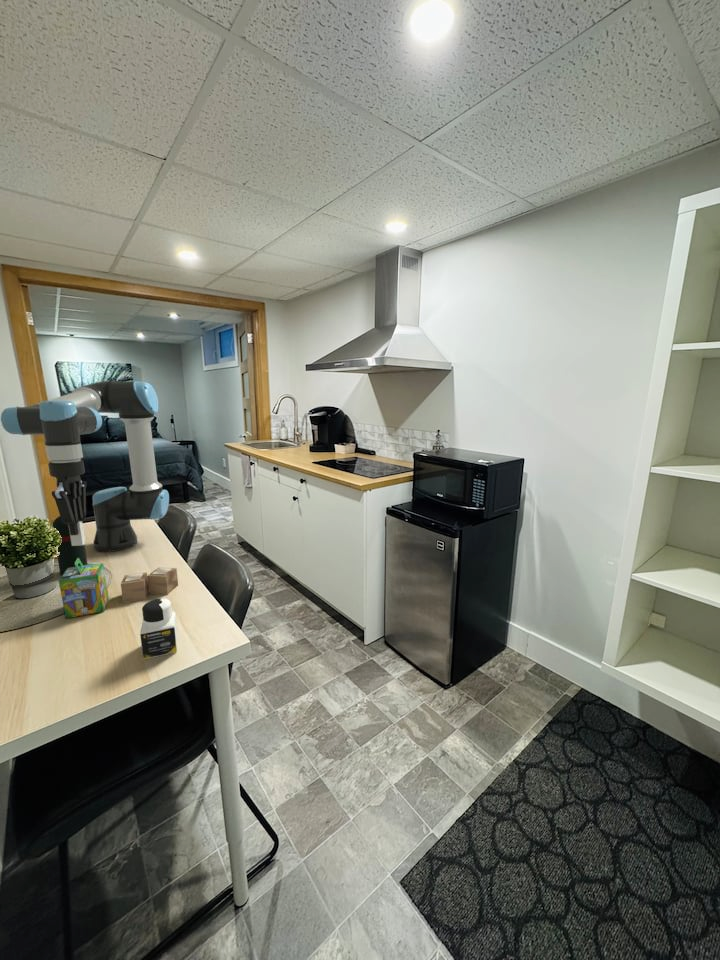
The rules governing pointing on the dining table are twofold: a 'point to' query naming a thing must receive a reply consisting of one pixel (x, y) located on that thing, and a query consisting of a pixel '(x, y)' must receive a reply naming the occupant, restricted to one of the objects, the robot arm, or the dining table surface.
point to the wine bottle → (68, 548)
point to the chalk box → (83, 589)
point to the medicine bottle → (158, 629)
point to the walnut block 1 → (134, 587)
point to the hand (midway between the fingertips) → (78, 544)
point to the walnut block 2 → (162, 580)
